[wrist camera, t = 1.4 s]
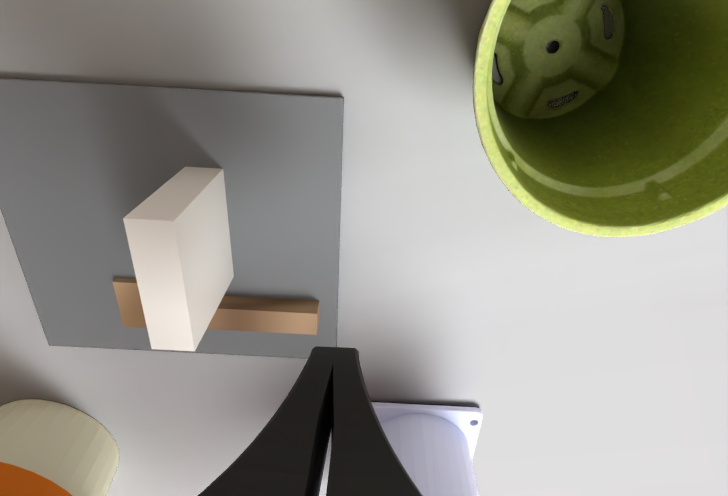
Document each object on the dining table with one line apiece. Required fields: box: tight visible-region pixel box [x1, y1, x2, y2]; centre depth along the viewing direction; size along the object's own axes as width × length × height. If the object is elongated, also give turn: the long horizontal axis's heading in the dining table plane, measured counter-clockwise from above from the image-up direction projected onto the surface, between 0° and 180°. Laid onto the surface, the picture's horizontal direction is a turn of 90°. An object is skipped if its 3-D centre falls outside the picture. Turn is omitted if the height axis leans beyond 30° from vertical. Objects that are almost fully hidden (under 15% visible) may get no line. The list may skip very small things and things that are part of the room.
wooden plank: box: [113, 278, 319, 335], centre depth 24 cm, size 11×3×1 cm, turn 87°
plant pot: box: [473, 0, 728, 237], centre depth 15 cm, size 9×9×9 cm
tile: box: [123, 167, 234, 351], centre depth 20 cm, size 6×2×6 cm, turn 177°
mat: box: [0, 78, 344, 358], centre depth 23 cm, size 15×17×1 cm
